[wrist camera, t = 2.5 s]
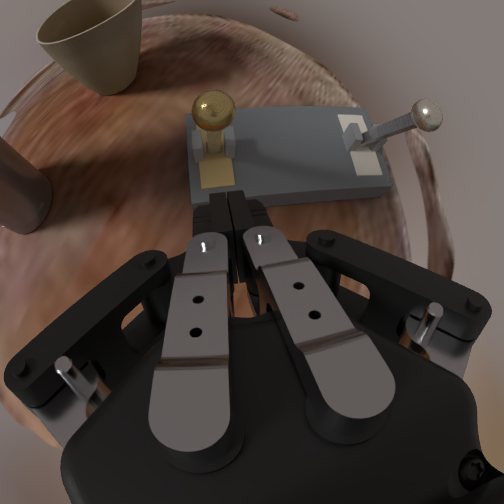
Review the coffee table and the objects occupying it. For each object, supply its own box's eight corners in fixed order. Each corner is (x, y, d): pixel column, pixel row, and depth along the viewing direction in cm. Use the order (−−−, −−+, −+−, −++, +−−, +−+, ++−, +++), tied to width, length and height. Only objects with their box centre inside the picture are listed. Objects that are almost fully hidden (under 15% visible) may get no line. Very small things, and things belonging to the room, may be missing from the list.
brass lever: (201, 162, 32) (191, 128, 17) (199, 137, 31) (188, 86, 16) (228, 159, 32) (239, 123, 17) (225, 134, 32) (235, 81, 17)
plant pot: (133, 41, 40) (116, -25, 24) (175, 77, 39) (161, -5, 23) (63, 86, 37) (28, 25, 22) (92, 131, 36) (46, 58, 20)
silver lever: (351, 152, 34) (428, 126, 19) (348, 129, 33) (421, 92, 18) (371, 152, 34) (452, 130, 19) (368, 130, 33) (445, 98, 19)
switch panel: (195, 215, 34) (188, 192, 28) (188, 131, 37) (182, 99, 30) (378, 197, 37) (404, 176, 30) (355, 123, 39) (373, 95, 32)
